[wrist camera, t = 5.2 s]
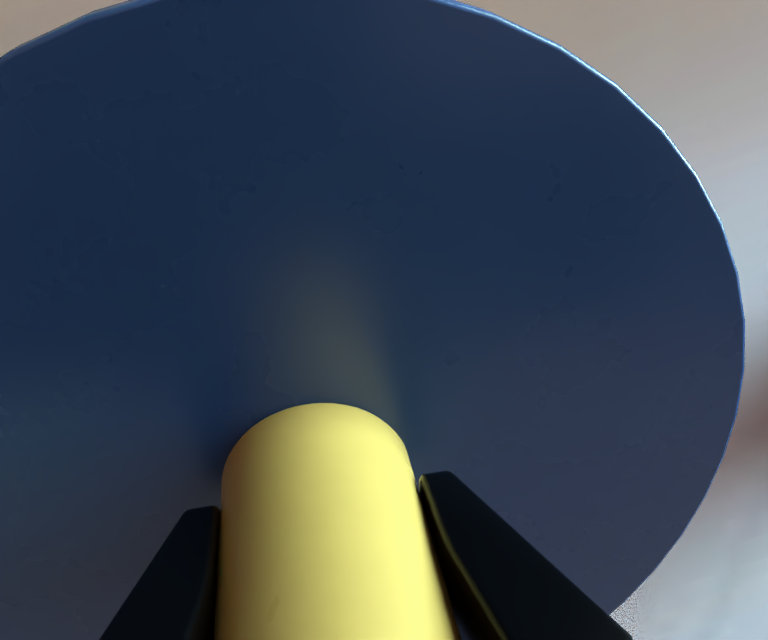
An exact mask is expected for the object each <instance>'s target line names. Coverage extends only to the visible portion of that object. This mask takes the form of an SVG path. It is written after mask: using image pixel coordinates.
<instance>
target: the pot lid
mask: <svg viewBox="0 0 768 640" xmlns="http://www.w3.org/2000/svg"><path fill="white" fill-rule="evenodd" d="M744 348H745V319H744V312H743V305H742V299H741V292H740V285H739V278H738V272H737V269H736V266H735V263H734V260H733V256H732V253H731V250H730V247H729V244H728V241H727V238H726V234H725V231H724V228H723V225H722V222H721V220H720V218H719V216H718V214H717V212H716V210H715V208H714V206H713V204H712V203H711V201H710V199H709V197H708V195H707V193H706V191H705V189H704V187H703V185H702V183H701V181H700V179H699V177H698V175H697V173H696V172H695V171H694V169H693V168H692V167H691V165H690V164H689V163H688V161H687V160H686V159H685V157H684V156H683V155H682V153H681V152H680V151H679V149H678V148H677V147H676V145H675V144H674V143H673V141H672V140H671V139H670V137H669V136H668V135H667V133H666V132H665V131H664V129H663V128H662V127H661V126H660V125H659V124H658V123H657V122H656V121H655V120H654V119H653V118H652V117H651V116H650V115H649V114H648V113H647V112H645V111H644V110H643V109H642V108H641V107H640V106H639V105H638V104H637V103H636V102H635V101H634V100H633V99H632V98H631V97H630V96H629V95H628V94H627V93H626V92H624V91H623V90H622V89H621V88H620V87H619V86H618V85H617V84H616V83H615V82H613V81H612V80H610V79H609V78H607V77H606V76H605V75H603V74H602V73H600V72H599V71H597V70H596V69H594V68H593V67H591V66H590V65H588V64H587V63H586V62H584V61H583V60H581V59H580V58H578V57H577V56H575V55H574V54H572V53H571V52H569V51H568V50H567V49H565V48H564V47H562V46H561V45H559V44H557V43H555V42H553V41H551V40H548V39H546V38H544V37H542V36H540V35H538V34H536V33H534V32H532V31H529V30H527V29H525V28H523V27H521V26H519V25H517V24H515V23H513V22H511V21H508V20H506V19H504V18H502V17H500V16H498V15H496V14H494V13H491V12H489V11H487V10H484V9H481V8H478V7H475V6H471V5H468V4H465V3H461V2H458V1H455V0H129V1H125V2H122V3H118V4H115V5H112V6H108V7H105V8H101V9H98V10H95V11H92V12H90V13H88V14H86V15H83V16H81V17H79V18H77V19H75V20H73V21H71V22H68V23H66V24H64V25H62V26H60V27H58V28H56V29H53V30H51V31H49V32H47V33H45V34H43V35H40V36H38V37H36V38H34V39H32V40H30V41H28V42H25V43H23V44H21V45H19V46H18V47H16V48H14V49H12V50H11V51H9V52H8V53H6V54H5V55H3V56H2V57H0V640H99V639H100V637H101V636H102V634H103V633H104V631H105V630H106V628H107V627H108V625H109V624H110V622H111V621H112V619H113V618H114V616H115V615H116V613H117V612H118V610H119V609H120V607H121V606H122V604H123V603H124V601H125V600H126V598H127V597H128V595H129V594H130V592H131V591H132V589H133V588H134V586H135V585H136V583H137V582H138V580H139V579H140V577H141V576H142V574H143V573H144V571H145V570H146V568H147V567H148V565H149V564H150V562H151V561H152V559H153V558H154V556H155V555H156V553H157V552H158V550H159V549H160V547H161V546H162V544H163V543H164V541H165V540H166V538H167V537H168V535H169V534H170V532H171V531H172V529H173V528H174V526H175V525H176V523H177V522H178V520H179V519H180V517H181V516H182V514H183V513H184V512H185V511H186V510H188V509H192V508H198V507H205V506H212V505H215V506H217V507H218V508H219V509H220V531H219V551H218V572H217V591H216V607H215V627H214V640H462V639H461V636H460V633H459V629H458V626H457V622H456V619H455V615H454V612H453V608H452V605H451V601H450V598H449V595H448V591H447V588H446V584H445V581H444V577H443V574H442V570H441V567H440V563H439V560H438V557H437V553H436V550H435V546H434V543H433V539H432V536H431V532H430V529H429V525H428V522H427V519H426V515H425V512H424V508H423V505H422V501H421V498H420V494H419V479H420V477H421V475H423V474H426V473H432V472H439V471H450V472H452V473H453V474H454V475H455V476H457V477H458V478H459V479H460V480H461V481H462V482H463V483H464V484H465V485H466V486H468V487H469V488H470V489H471V490H472V491H473V492H474V493H475V494H476V495H477V496H479V497H480V498H481V499H482V500H483V501H484V502H485V503H486V504H487V505H488V506H489V507H491V508H492V509H493V510H494V511H495V512H496V513H497V514H498V515H499V516H500V517H502V518H503V519H504V520H505V521H506V522H507V523H508V524H509V525H510V526H511V527H513V528H514V529H515V530H516V531H517V532H518V533H519V534H520V535H521V536H522V537H523V538H525V539H526V540H527V541H528V542H529V543H530V544H531V545H532V546H533V547H534V548H536V549H537V550H538V551H539V552H540V553H541V554H542V555H543V556H544V557H545V558H546V559H548V560H549V561H550V562H551V563H552V564H553V565H554V566H555V567H556V568H557V569H559V570H560V571H561V572H562V573H563V574H564V575H565V576H566V577H567V578H568V579H570V580H571V581H572V582H573V583H574V584H575V585H576V586H577V587H578V588H579V589H580V590H582V591H583V592H584V593H585V594H586V595H587V596H588V597H589V598H590V599H591V600H593V601H594V602H595V603H596V604H597V605H598V606H599V607H600V608H601V609H602V610H604V611H605V612H606V613H607V614H608V615H610V614H611V613H612V612H613V611H614V610H615V609H617V608H618V607H619V606H620V605H621V604H622V603H624V602H625V601H626V600H627V599H628V598H629V596H630V595H631V594H632V593H633V592H634V591H635V590H636V589H637V588H638V587H639V586H640V585H641V584H642V583H643V582H644V581H645V580H646V579H647V578H648V577H649V576H650V574H651V573H652V572H653V571H654V570H655V569H656V568H657V567H658V565H659V564H660V563H661V561H662V560H663V559H664V558H665V556H666V555H667V554H668V552H669V551H670V550H671V549H672V547H673V546H674V545H675V543H676V542H677V541H678V539H679V538H680V537H681V536H682V534H683V533H684V531H685V529H686V528H687V526H688V524H689V523H690V521H691V519H692V518H693V516H694V515H695V513H696V511H697V510H698V508H699V506H700V505H701V503H702V501H703V500H704V498H705V496H706V494H707V492H708V490H709V488H710V485H711V483H712V481H713V479H714V477H715V475H716V472H717V470H718V468H719V466H720V464H721V461H722V459H723V457H724V454H725V451H726V447H727V444H728V441H729V438H730V435H731V431H732V428H733V425H734V422H735V418H736V415H737V410H738V404H739V398H740V392H741V386H742V379H743V373H744Z"/></svg>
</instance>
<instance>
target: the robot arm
mask: <svg viewBox="0 0 768 640" xmlns="http://www.w3.org/2000/svg"><path fill="white" fill-rule="evenodd" d="M419 494H420V498H421V501H422V505H423V508H424V512H425V515H426V519H427V522H428V525H429V529H430V532H431V536H432V539H433V543H434V546H435V550H436V553H437V557H438V560H439V563H440V567H441V570H442V574H443V577H444V581H445V584H446V588H447V591H448V595H449V598H450V601H451V605H452V608H453V612H454V615H455V619H456V622H457V626H458V629H459V633H460V636H461V639H462V640H632V636H631V635H630V634H629V633H628V632H627V631H625V630H624V629H623V628H622V627H621V626H620V625H619V624H618V623H617V622H616V621H614V620H613V619H612V618H611V617H610V616H609V615H608V614H607V613H606V612H605V611H604V610H602V609H601V608H600V607H599V606H598V605H597V604H596V603H595V602H594V601H593V600H591V599H590V598H589V597H588V596H587V595H586V594H585V593H584V592H583V591H582V590H580V589H579V588H578V587H577V586H576V585H575V584H574V583H573V582H572V581H571V580H570V579H568V578H567V577H566V576H565V575H564V574H563V573H562V572H561V571H560V570H559V569H557V568H556V567H555V566H554V565H553V564H552V563H551V562H550V561H549V560H548V559H546V558H545V557H544V556H543V555H542V554H541V553H540V552H539V551H538V550H537V549H536V548H534V547H533V546H532V545H531V544H530V543H529V542H528V541H527V540H526V539H525V538H523V537H522V536H521V535H520V534H519V533H518V532H517V531H516V530H515V529H514V528H513V527H511V526H510V525H509V524H508V523H507V522H506V521H505V520H504V519H503V518H502V517H500V516H499V515H498V514H497V513H496V512H495V511H494V510H493V509H492V508H491V507H489V506H488V505H487V504H486V503H485V502H484V501H483V500H482V499H481V498H480V497H479V496H477V495H476V494H475V493H474V492H473V491H472V490H471V489H470V488H469V487H468V486H466V485H465V484H464V483H463V482H462V481H461V480H460V479H459V478H458V477H457V476H455V475H454V474H453V473H452V472H450V471H439V472H432V473H426V474H423V475H421V477H420V479H419ZM219 531H220V509H219V508H218V507H217V506H215V505H212V506H205V507H198V508H192V509H188V510H186V511H185V512H184V513H183V514H182V516H181V517H180V519H179V520H178V522H177V523H176V525H175V526H174V528H173V529H172V531H171V532H170V534H169V535H168V537H167V538H166V540H165V541H164V543H163V544H162V546H161V547H160V549H159V550H158V552H157V553H156V555H155V556H154V558H153V559H152V561H151V562H150V564H149V565H148V567H147V568H146V570H145V571H144V573H143V574H142V576H141V577H140V579H139V580H138V582H137V583H136V585H135V586H134V588H133V589H132V591H131V592H130V594H129V595H128V597H127V598H126V600H125V601H124V603H123V604H122V606H121V607H120V609H119V610H118V612H117V613H116V615H115V616H114V618H113V619H112V621H111V622H110V624H109V625H108V627H107V628H106V630H105V631H104V633H103V634H102V636H101V637H100V639H99V640H214V627H215V607H216V591H217V572H218V551H219Z"/></svg>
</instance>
